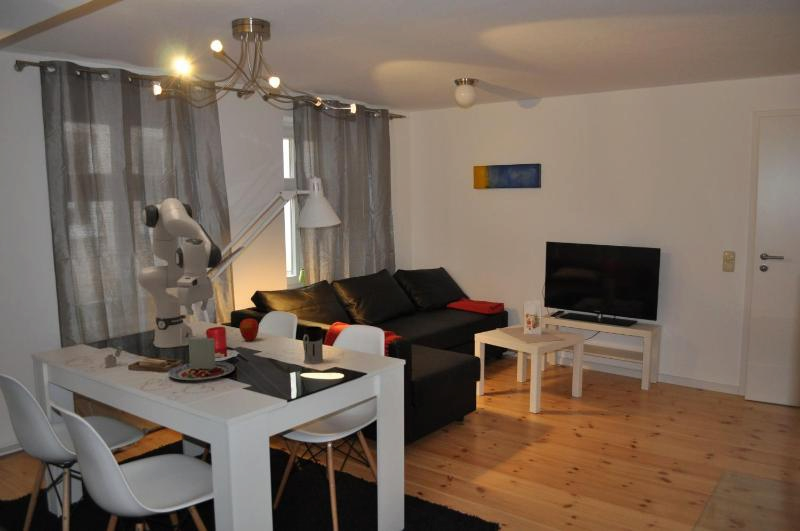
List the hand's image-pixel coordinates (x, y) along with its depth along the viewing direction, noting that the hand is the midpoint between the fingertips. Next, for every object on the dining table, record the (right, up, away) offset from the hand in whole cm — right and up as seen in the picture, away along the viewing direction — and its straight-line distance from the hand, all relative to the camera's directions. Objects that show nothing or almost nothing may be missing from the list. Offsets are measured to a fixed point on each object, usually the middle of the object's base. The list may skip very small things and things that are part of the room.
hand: (197, 312), depth 256 cm
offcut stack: (-22, -25, +9) cm, 34 cm away
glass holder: (+44, -23, +16) cm, 53 cm away
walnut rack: (-21, -24, +12) cm, 34 cm away
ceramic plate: (+2, -26, 0) cm, 26 cm away
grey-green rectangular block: (+2, -23, +1) cm, 23 cm away
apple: (+7, -19, +58) cm, 62 cm away
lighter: (-40, -24, +14) cm, 49 cm away
